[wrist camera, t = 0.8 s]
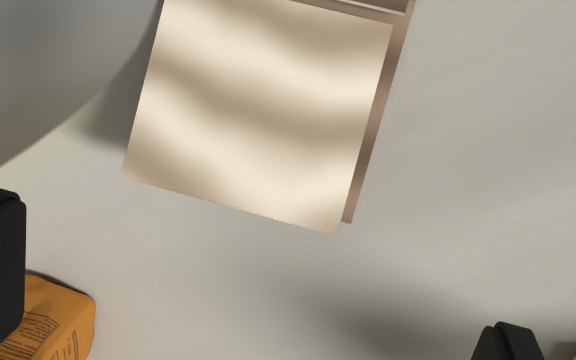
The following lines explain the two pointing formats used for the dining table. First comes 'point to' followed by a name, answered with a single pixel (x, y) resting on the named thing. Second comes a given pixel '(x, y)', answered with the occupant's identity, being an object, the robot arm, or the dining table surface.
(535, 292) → the dining table surface
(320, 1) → the floor board
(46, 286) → the coffee package
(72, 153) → the dining table surface
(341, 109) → the ash plank
